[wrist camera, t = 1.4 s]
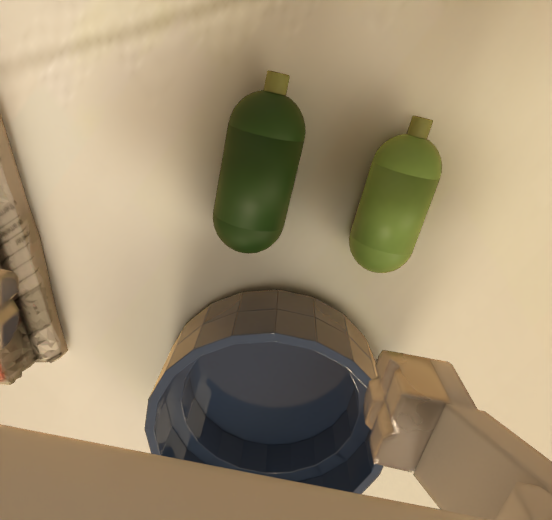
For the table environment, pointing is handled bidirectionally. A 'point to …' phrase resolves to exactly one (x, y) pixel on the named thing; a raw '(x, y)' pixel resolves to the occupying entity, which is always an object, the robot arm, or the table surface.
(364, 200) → the pale zucchini
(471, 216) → the table surface
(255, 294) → the bowl
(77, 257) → the table surface
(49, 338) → the packaged product
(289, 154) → the zucchini
